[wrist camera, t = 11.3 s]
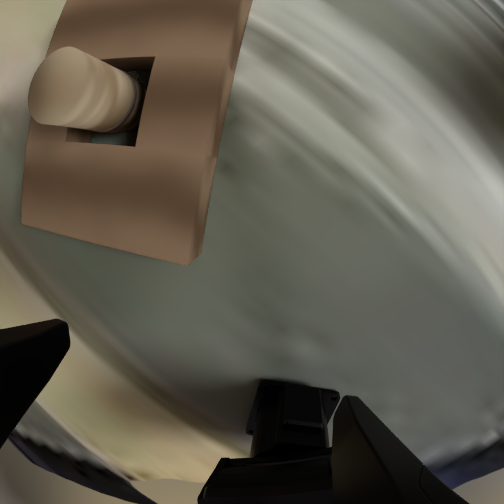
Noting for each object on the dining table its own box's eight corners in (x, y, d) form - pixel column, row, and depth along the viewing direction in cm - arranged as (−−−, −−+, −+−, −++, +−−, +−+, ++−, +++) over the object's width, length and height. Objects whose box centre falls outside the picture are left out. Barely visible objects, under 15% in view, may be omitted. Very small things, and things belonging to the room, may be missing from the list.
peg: (148, 138, 18) (75, 125, 11) (100, 134, 19) (21, 126, 11) (161, 80, 17) (96, 40, 10) (111, 80, 18) (39, 52, 10)
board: (201, 252, 20) (187, 265, 17) (45, 217, 21) (21, 223, 18) (252, 0, 15) (246, -23, 12) (87, 11, 16) (67, -2, 13)
